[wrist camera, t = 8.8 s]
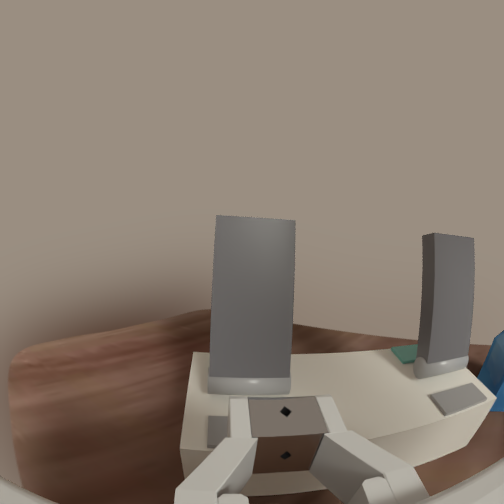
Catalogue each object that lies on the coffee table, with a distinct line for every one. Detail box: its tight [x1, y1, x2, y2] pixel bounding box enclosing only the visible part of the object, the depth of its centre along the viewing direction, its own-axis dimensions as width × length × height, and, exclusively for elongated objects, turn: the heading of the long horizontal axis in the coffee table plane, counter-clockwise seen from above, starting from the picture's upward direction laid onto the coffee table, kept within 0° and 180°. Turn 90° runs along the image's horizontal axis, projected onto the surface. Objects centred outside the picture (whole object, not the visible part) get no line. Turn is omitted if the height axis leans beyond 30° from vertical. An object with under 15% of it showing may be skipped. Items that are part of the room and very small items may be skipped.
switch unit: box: [180, 344, 497, 496], centre depth 20 cm, size 24×10×6 cm, turn 94°
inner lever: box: [413, 233, 475, 379], centre depth 20 cm, size 5×2×11 cm, turn 94°
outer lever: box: [208, 215, 295, 395], centre depth 19 cm, size 5×2×11 cm, turn 94°
